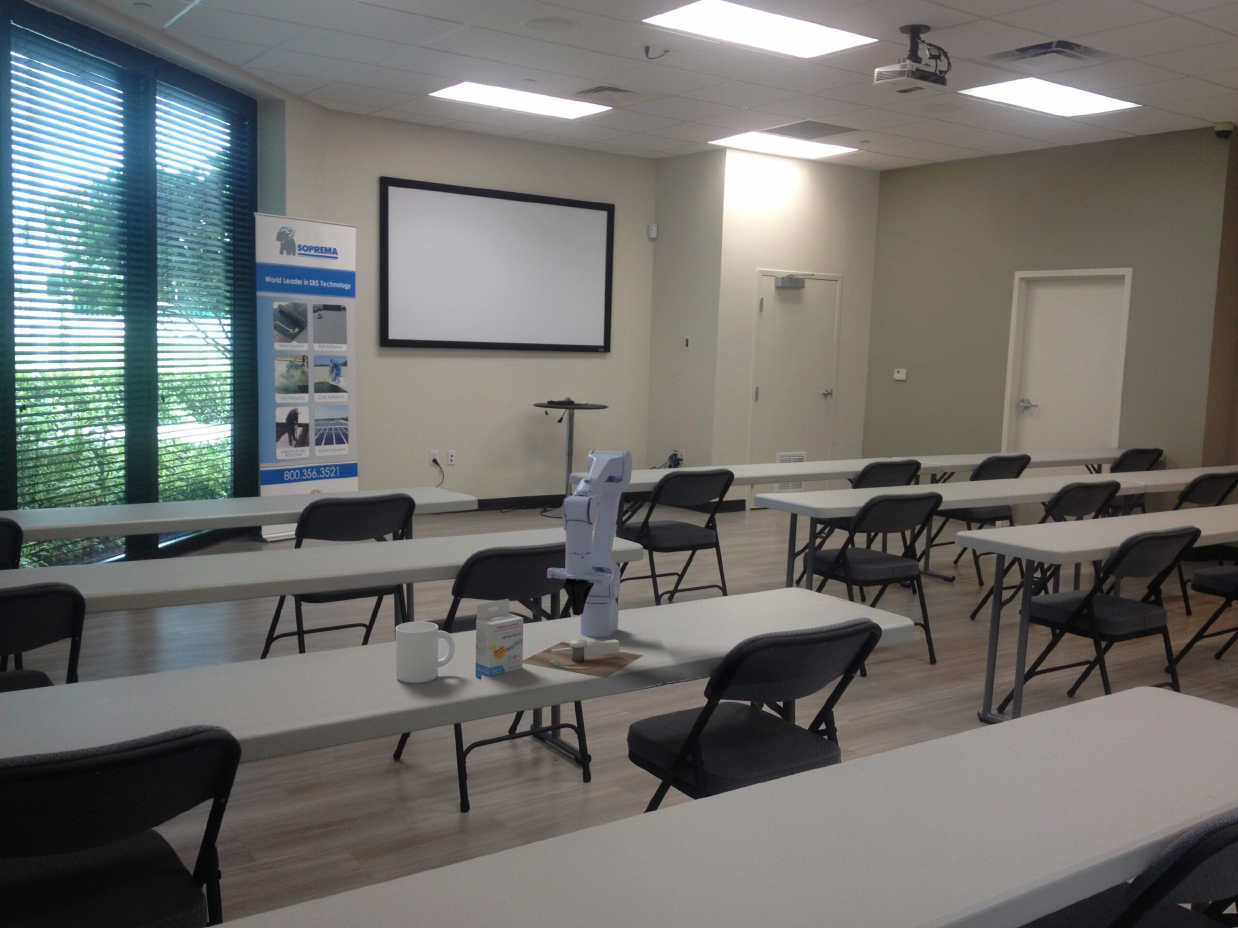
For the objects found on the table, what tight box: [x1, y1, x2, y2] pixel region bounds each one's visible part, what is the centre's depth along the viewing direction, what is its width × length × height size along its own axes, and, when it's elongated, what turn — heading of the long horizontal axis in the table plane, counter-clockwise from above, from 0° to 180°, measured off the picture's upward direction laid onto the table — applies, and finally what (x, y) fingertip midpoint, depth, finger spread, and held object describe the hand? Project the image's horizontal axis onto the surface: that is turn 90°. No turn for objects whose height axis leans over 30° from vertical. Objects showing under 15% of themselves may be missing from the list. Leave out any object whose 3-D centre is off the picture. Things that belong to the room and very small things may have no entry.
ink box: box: [475, 598, 524, 679], centre depth 198 cm, size 8×5×15 cm, turn 135°
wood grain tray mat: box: [522, 641, 644, 679], centre depth 207 cm, size 18×20×1 cm
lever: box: [552, 638, 620, 662], centre depth 206 cm, size 15×4×4 cm, turn 115°
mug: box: [395, 621, 456, 684], centre depth 197 cm, size 12×8×10 cm
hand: (578, 614), depth 212 cm, fingers closed
